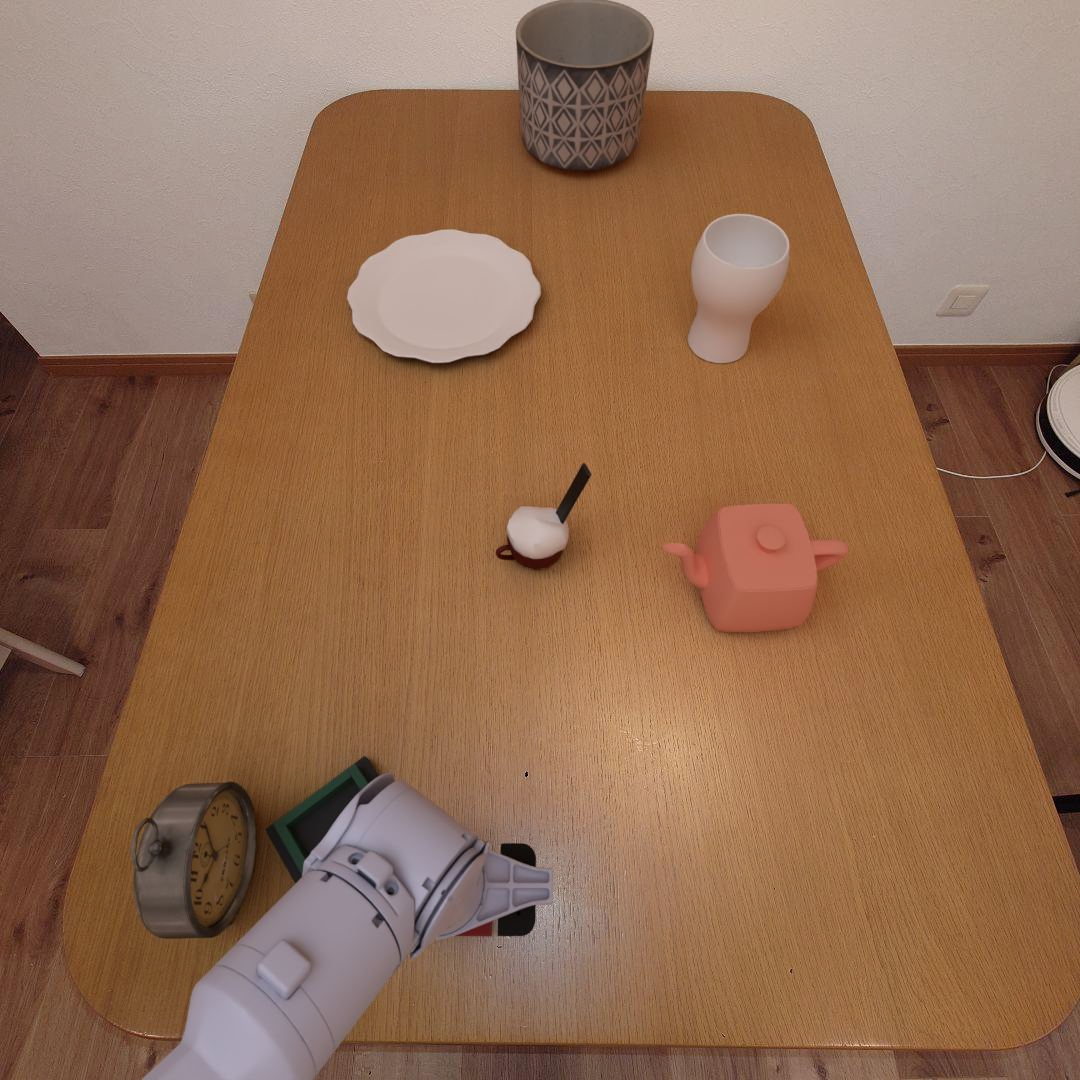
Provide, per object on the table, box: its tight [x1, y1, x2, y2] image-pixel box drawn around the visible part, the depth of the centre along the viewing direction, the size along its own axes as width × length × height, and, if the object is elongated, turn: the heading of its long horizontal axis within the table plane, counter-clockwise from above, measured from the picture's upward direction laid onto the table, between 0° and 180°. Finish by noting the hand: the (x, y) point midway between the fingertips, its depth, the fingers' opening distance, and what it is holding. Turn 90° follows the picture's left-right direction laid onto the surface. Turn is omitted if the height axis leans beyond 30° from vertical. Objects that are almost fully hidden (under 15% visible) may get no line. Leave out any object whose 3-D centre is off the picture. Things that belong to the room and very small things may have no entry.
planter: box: [515, 0, 655, 172], centre depth 107 cm, size 19×19×16 cm
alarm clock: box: [130, 781, 257, 940], centre depth 54 cm, size 11×5×16 cm, turn 1°
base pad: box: [264, 755, 380, 885], centre depth 61 cm, size 10×9×3 cm
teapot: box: [662, 502, 850, 633], centre depth 69 cm, size 12×18×10 cm, turn 93°
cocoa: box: [495, 462, 592, 571], centre depth 71 cm, size 10×6×12 cm, turn 92°
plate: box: [346, 229, 542, 365], centre depth 95 cm, size 25×25×2 cm
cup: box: [687, 213, 791, 364], centre depth 85 cm, size 11×11×15 cm
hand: (454, 895), depth 54 cm, fingers open, 7 cm apart
